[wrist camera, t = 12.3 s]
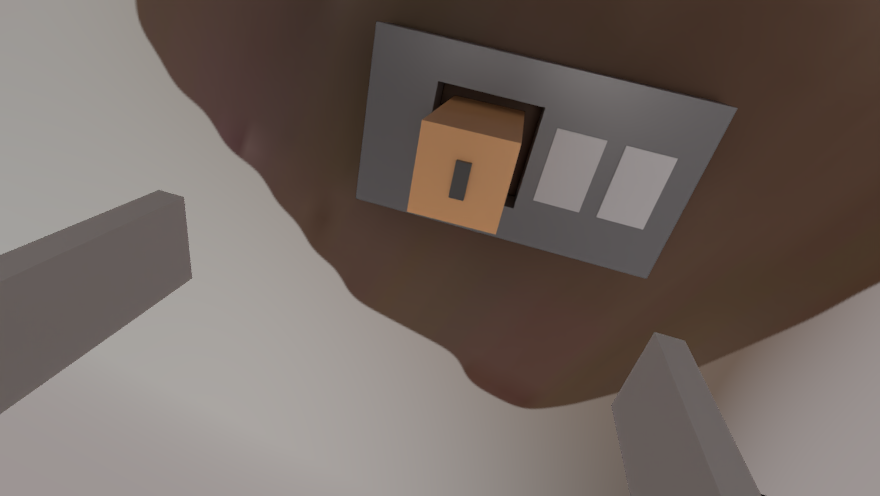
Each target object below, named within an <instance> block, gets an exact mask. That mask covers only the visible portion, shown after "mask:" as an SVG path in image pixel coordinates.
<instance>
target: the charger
mask: <svg viewBox="0 0 880 496" xmlns="http://www.w3.org/2000/svg"><path fill="white" fill-rule="evenodd" d="M524 116H525V111H521V110H517V109H512V108H508V107H504V106H499V105H495V104H491V103H486V102H482V101H478V100H473V99H469V98H465V97H460V96H456V95H455V96H453V97H452V98H451V99H449V100H448V101H447V102H445V103H444V104H443V105H441V106H440V107H439V108H437V109H436V110H435V111H433V112H432V113H430V114H429V115H428V116H426V117H425V118H424V119H422V122H421V128H420V134H419V140H418V147H417V153H416V159H415V165H414V171H413V177H412V183H411V189H410V195H409V201H408V208H407V212H410V213H414V214H418V215H422V216H426V217H430V218H433V219H437V220H441V221H445V222H449V223H453V224H457V225H461V226H464V227H468V228H472V229H476V230H480V231H484V232H488V233H491V234H495V235H496V232H497V228H498V225H499V221H500V218H501V214H502V211H503V207H504V204H505V200H506V197H507V193H508V190H509V186H510V183H511V179H512V176H513V172H514V169H515V165H516V162H517V158H518V154H519V151H520V147H521V144H522V135H523V126H524Z"/></svg>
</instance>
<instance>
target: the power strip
mask: <svg viewBox="0 0 880 496" xmlns="http://www.w3.org/2000/svg"><path fill="white" fill-rule="evenodd" d="M444 83H448V84H452V85H456V86H460V87H464V88H468V89H472V90H476V91H480V92H484V93H488V94H492V95H496V96H500V97H504V98H508V99H512V100H516V101H520V102H524V103H528V104H532V105H536V106H540V107H543V109H542V112H541V115H540V118H539V122H538V125H537V128H536V131H535V134H534V137H533V141H532V144H531V147H530V150H529V153H528V156H527V160H526V163H525V166H524V169H523V172H522V176H521V179H520V182H519V185H518V188H517V191H516V195H515V197H514V196H510V195H507V197H506V200H505V204H504V207H503V211H502V214H501V218H500V221H499V225H498V228H497V232H496V235H495V234H491V233H488V232H484V231H480V230H476V229H472V228H468V227H464V226H461V225H457V224H453V223H449V222H445V221H441V220H437V219H433V218H430V217H426V216H422V215H418V214H414V213H410V212H407V208H408V201H409V195H410V189H411V183H412V177H413V171H414V165H415V159H416V153H417V147H418V140H419V134H420V128H421V122H422V119H424V118H425V117H426V116H428V115H429V114H430V113H432V112H433V111H435V110H436V109H437V108H439V107H440V102H441V97H442V92H443V87H444ZM736 110H737V108H736V107H733V106H730V105H727V104H724V103H721V102H717V101H713V100H709V99H705V98H700V97H696V96H692V95H688V94H684V93H680V92H675V91H671V90H667V89H663V88H659V87H655V86H650V85H646V84H642V83H638V82H634V81H630V80H625V79H621V78H617V77H613V76H609V75H605V74H601V73H596V72H592V71H588V70H584V69H580V68H576V67H571V66H567V65H563V64H559V63H555V62H551V61H546V60H542V59H538V58H534V57H530V56H526V55H521V54H517V53H513V52H509V51H505V50H501V49H496V48H492V47H488V46H484V45H480V44H476V43H471V42H467V41H463V40H459V39H455V38H451V37H446V36H442V35H438V34H434V33H430V32H426V31H421V30H417V29H413V28H409V27H405V26H401V25H397V24H392V23H388V22H378V21H376V29H375V38H374V46H373V55H372V63H371V72H370V80H369V89H368V98H367V106H366V115H365V123H364V132H363V140H362V149H361V158H360V166H359V175H358V183H357V192H356V199H360V200H363V201H367V202H371V203H374V204H378V205H381V206H385V207H389V208H392V209H396V210H400V211H403V212H407V213H410V214H414V215H418V216H421V217H425V218H428V219H432V220H436V221H439V222H443V223H447V224H450V225H454V226H457V227H461V228H465V229H468V230H472V231H476V232H479V233H483V234H486V235H490V236H494V237H497V238H501V239H504V240H508V241H512V242H515V243H519V244H523V245H526V246H530V247H533V248H537V249H541V250H544V251H548V252H551V253H555V254H559V255H562V256H566V257H570V258H573V259H577V260H580V261H584V262H588V263H591V264H595V265H598V266H602V267H606V268H609V269H613V270H617V271H620V272H624V273H627V274H631V275H635V276H638V277H642V278H645V279H647V277H648V275H649V273H650V271H651V270H652V268H653V266H654V264H655V262H656V260H657V258H658V256H659V255H660V253H661V251H662V249H663V247H664V245H665V243H666V241H667V240H668V238H669V236H670V234H671V232H672V230H673V228H674V226H675V225H676V223H677V221H678V219H679V217H680V215H681V213H682V211H683V210H684V208H685V206H686V204H687V202H688V200H689V198H690V196H691V195H692V193H693V191H694V189H695V187H696V185H697V183H698V181H699V180H700V178H701V176H702V174H703V172H704V170H705V168H706V166H707V165H708V163H709V161H710V159H711V157H712V155H713V153H714V151H715V150H716V148H717V146H718V144H719V142H720V140H721V138H722V136H723V135H724V133H725V131H726V129H727V127H728V125H729V123H730V121H731V120H732V118H733V116H734V114H735V112H736Z"/></svg>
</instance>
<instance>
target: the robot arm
mask: <svg viewBox="0 0 880 496" xmlns="http://www.w3.org/2000/svg"><path fill="white" fill-rule="evenodd" d="M190 279H192V273H191V263H190V254H189V244H188V233H187V224H186V215H185V204H184V197H181V196H178V195H174V194H171V193H167V192H164V191H160V190H158V191H155V192H153V193H150V194H148V195H146V196H143V197H141V198H138V199H136V200H133V201H131V202H129V203H126V204H124V205H121V206H119V207H116V208H114V209H112V210H109V211H107V212H105V213H102V214H99V215H97V216H95V217H92V218H90V219H87V220H85V221H82V222H80V223H77V224H75V225H73V226H70V227H68V228H65V229H63V230H61V231H58V232H56V233H53V234H51V235H48V236H46V237H44V238H41V239H39V240H36V241H34V242H31V243H29V244H27V245H24V246H22V247H19V248H17V249H14V250H12V251H9V252H7V253H5V254H2V255H0V414H1V413H2V412H4V411H5V410H7V409H8V408H9V407H10V406H12V405H14V404H15V403H16V402H18V401H19V400H21V399H22V398H24V397H25V396H26V395H28V394H29V393H31V392H32V391H33V390H35V389H36V388H38V387H39V386H40V385H42V384H43V383H45V382H46V381H48V380H49V379H50V378H52V377H53V376H55V375H56V374H57V373H59V372H60V371H62V370H63V369H64V368H66V367H67V366H69V365H70V364H72V363H73V362H74V361H76V360H77V359H79V358H80V357H81V356H83V355H84V354H85V353H87V352H88V351H90V350H91V349H93V348H94V347H95V346H97V345H98V344H100V343H101V342H103V341H104V340H105V339H107V338H108V337H109V336H111V335H113V334H114V333H115V332H117V331H118V330H120V329H121V328H122V327H124V326H125V325H127V324H128V323H129V322H131V321H132V320H134V319H135V318H137V317H138V316H139V315H141V314H142V313H144V312H145V311H146V310H148V309H149V308H151V307H152V306H153V305H155V304H156V303H158V302H159V301H160V300H162V299H163V298H165V297H166V296H168V295H169V294H170V293H172V292H173V291H175V290H176V289H177V288H179V287H180V286H182V285H183V284H185V283H186V282H187V281H189V280H190ZM611 406H612V411H613V415H614V420H615V425H616V430H617V434H618V439H619V444H620V449H621V454H622V458H623V463H624V468H625V472H626V477H627V483H628V487H629V492H630V496H765V495H762V494H760V492H759V490H758V488H757V486H756V484H755V482H754V480H753V478H752V476H751V474H750V472H749V469H748V467H747V466H746V463H745V461H744V459H743V457H742V455H741V453H740V451H739V449H738V447H737V445H736V443H735V441H734V439H733V437H732V435H731V433H730V431H729V429H728V427H727V425H726V423H725V421H724V419H723V417H722V415H721V413H720V411H719V409H718V407H717V405H716V403H715V401H714V399H713V397H712V395H711V393H710V391H709V389H708V387H707V385H706V382H705V381H704V379H703V377H702V374H701V372H700V370H699V368H698V366H697V364H696V362H695V360H694V358H693V356H692V354H691V352H690V350H689V348H688V346H687V344H686V342H685V341H684V340H680V339H677V338H673V337H670V336H666V335H663V334H660V333H656V332H654V334H653V336H652V337H651V339H650V341H649V342H648V344H647V346H646V347H645V349H644V351H643V353H642V354H641V356H640V358H639V359H638V361H637V363H636V364H635V366H634V368H633V369H632V371H631V373H630V375H629V376H628V378H627V380H626V381H625V383H624V385H623V386H622V388H621V390H620V391H619V393H618V395H617V397H616V398H615V400H614V402H613V403H612V405H611Z"/></svg>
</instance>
